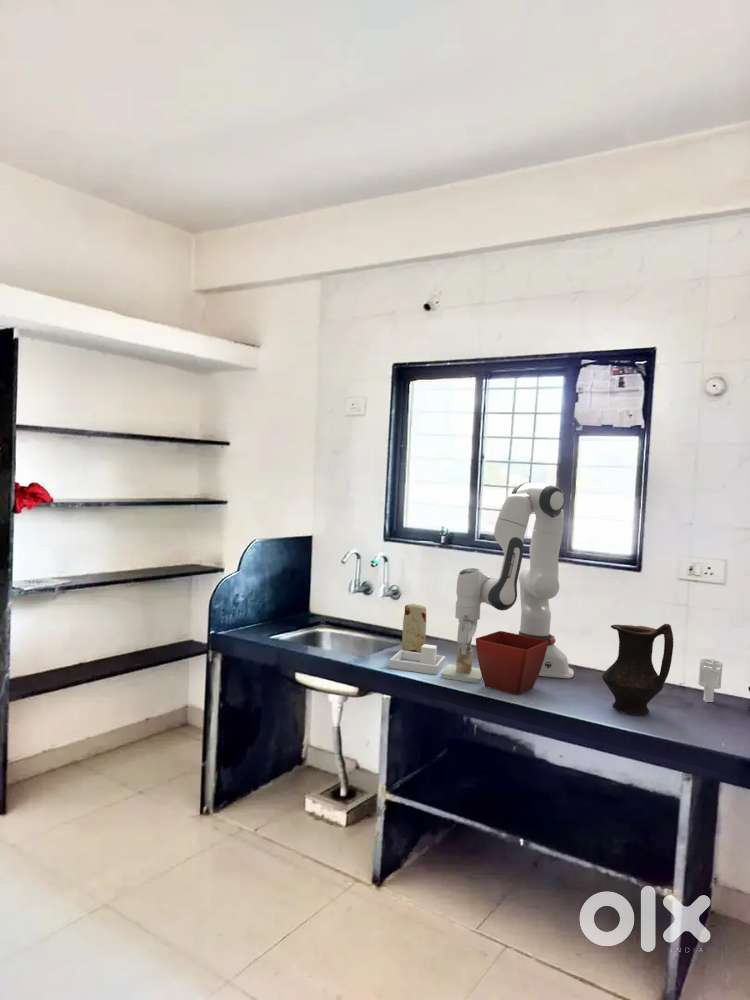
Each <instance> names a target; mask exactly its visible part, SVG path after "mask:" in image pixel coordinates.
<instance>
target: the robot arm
mask: <svg viewBox="0 0 750 1000" xmlns="http://www.w3.org/2000/svg"><path fill="white" fill-rule="evenodd" d="M565 498H566V497H565V494H564V491H563V490H562V489H561V488H559V487H558V486H556V485H553V484H546V483H543V482H540V483H539V482H536V483H535V482H534V483H533V482H522V483H521V482H520V483H518V484H517V485H516V486H514V488H513V490H512V492H511V494H510V495H508V496H507V497H506V498H505V500H504V502H503V504H502V506H501V509H500V511H499V514H498V516H497V519H496V522H495V526H494V533H493V534H494V535H493V536H494V538H495V541H496V542H497V543H498V545H499V547H501V549H502V551H503V562H502V565H501V570H500V575H499V577H498V579H497V578H495V577H492V576H489V575H487V574H486V573H484V572H482V571H481V570H480V569H479V568H476V567H475V568H474V567H473V568H465V569H463V570H460V571H459V572H458V573H459V574H458V575H457V579H456V580H457V581H456V598H457V599H456V602H455V615H454V616H455V618H456V619H457V620H458V629H457V636H456V638H457V640H456V641H457V644H458V645H460V647H461V654H462V655H466V654H467V648H471V649H472V641H473V637H474V636H475V634H476V632H477V626H478V620H480V619H481V604H482V603H484V604H486V605H489V606H491V607H492V608H495V609H496V610H498V611H506V610H509V609H511V608H512V607H513V606H514V605H515V604H516V602H517V597H518V582H519V594H520V596H519V597H520V598H519V599H520V610H521V611H520V612H521V614H520V626H519V627H520V628H519V631H518V633H517V634H518V635H523V636H528V637H533V638H537V639H542V640H546V641H548V646H547V650H546V654H545V658H544V661H543V664H542V667H541V670H540V673H539V675H538V677H548V678H549V677H550V678H558V679H559V678H561V679H571V678H573V677H574V676H575V672H574V670H573V668H571V667H569V661H568V657H567V655H566V654H565V653H564V652H562V650H560V648H559V647H557V646H556V645H555V643H556V637H555V635H552V634H551V633H550V632H551V631H550V630H551V619H552V618H551V617H552V614H551V613H552V612H551V609H550V602H549V601H550V600H551V599H553V598H555V597H556V596H557V594H559V590H560V583H559V557H560V550H561V545H562V538H563V532H564V526H565V525H564V524H565V522H564V521H565V513H564V510H563V508H564V506H565V500H566V499H565ZM533 513H534V514H535V520H534V524H533V528H532V533H531V540H530V544H529V550H528V551H529V566H527V567H525V568H523V569H522V570H521V565H522V560H523V556H524V547H525V546H524V540H525V535H526V531H527V527H528V525H529V521H530V517H531V514H533Z"/></svg>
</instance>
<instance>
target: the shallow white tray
mask: <svg viewBox="0 0 750 1000" xmlns="http://www.w3.org/2000/svg"><path fill="white" fill-rule="evenodd" d="M395 653H396V654H394V655H393V656H392V657H391V658H390V659H389V661H388V669H393V670H401V671H408V672H416V673H423V674H428V675H436V676H437V675H438V674H439V673H440V672H441V670H443V667H444V666H445V665H446V657H447V656H445V655H439V654H438V655H437V657H436V665H428V664H421V663H420V660H421V653H417V652H410V651H404V650H402V649H400V650H399V651H398V652H395ZM404 660H405V661H404ZM406 660H407V661H406ZM411 661H412V662H411ZM414 661H415V662H414Z"/></svg>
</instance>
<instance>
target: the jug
mask: <svg viewBox="0 0 750 1000" xmlns="http://www.w3.org/2000/svg"><path fill="white" fill-rule="evenodd" d="M610 628H611V629H613V630H616V631H617V633H618V634H617V635H618V653H617V654H618V655H617V658H616V659H615V661H614V663H612V664H611V665H610V666H609V667H608V668H607V669H606V670H605V671H603V673H602V675H601V678H602V681H603V682H604V684H606V687H607V688H608V689H609V690H610V692H611V693H612V696H613V697H614V702H613V703H612V708H613V709H615V710H616V711H618V712H620V713H623V714H626V715H630V716H631V715H632V716H633V715H634V716H647V715H649V713H650V709H649V708H648V705H649V703H650V701H651V700H652V699H654V698H655V696H657V695H658V694H659V693H660V692H661V691H662V690H663V688H664V684H665V682H666V680H667V678H668V676H669V673H670V669H671V665H672V658H673V651H674V636H673V635H674V634H673V630H672V625H671V624H669V623H663V624H662V625H661V626H659V627H658V628H654V627H650V626H644V625H632V624H629V625H628V624H612V625H610ZM661 635H663V638H664V643H663V655H662V658H661V659H662V660H661V666H660V671H659V674H658V673H657V671H656V669H655V667H654V664H653V658H652V657H653V651H654V650H653V649H654V648H653V647H654V642H655V639H656V638H657V637H659V636H661Z"/></svg>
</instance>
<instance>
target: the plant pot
mask: <svg viewBox="0 0 750 1000" xmlns="http://www.w3.org/2000/svg"><path fill="white" fill-rule="evenodd" d="M518 634H519V633H513V632H508V631H505V630H504V631H503V630H497V631H495V632H491V633H488V634H486V635H482V636H479V637H476V638H475V647H476V655H477V660H478V665H479V668H480V671H481V675H482V678H483V679H482V681H483V684H484V686H485V688H488V687H489V688H488V689H492V690H495V691H499V690H500V692H503V693H508V694H511V695H515V696H519V695H521V694H523V693H525V692H528V691H529V690H531V689H533V688H534V687H535V685H536V682H537V679H538V678H539V676H538V675H539V673H540V670H541V667H542V664H543V661H544V658H545V654H546V650H547V646H548V641H546V640H542V639H537V638H533V637H528V636H523V635H518Z"/></svg>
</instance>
